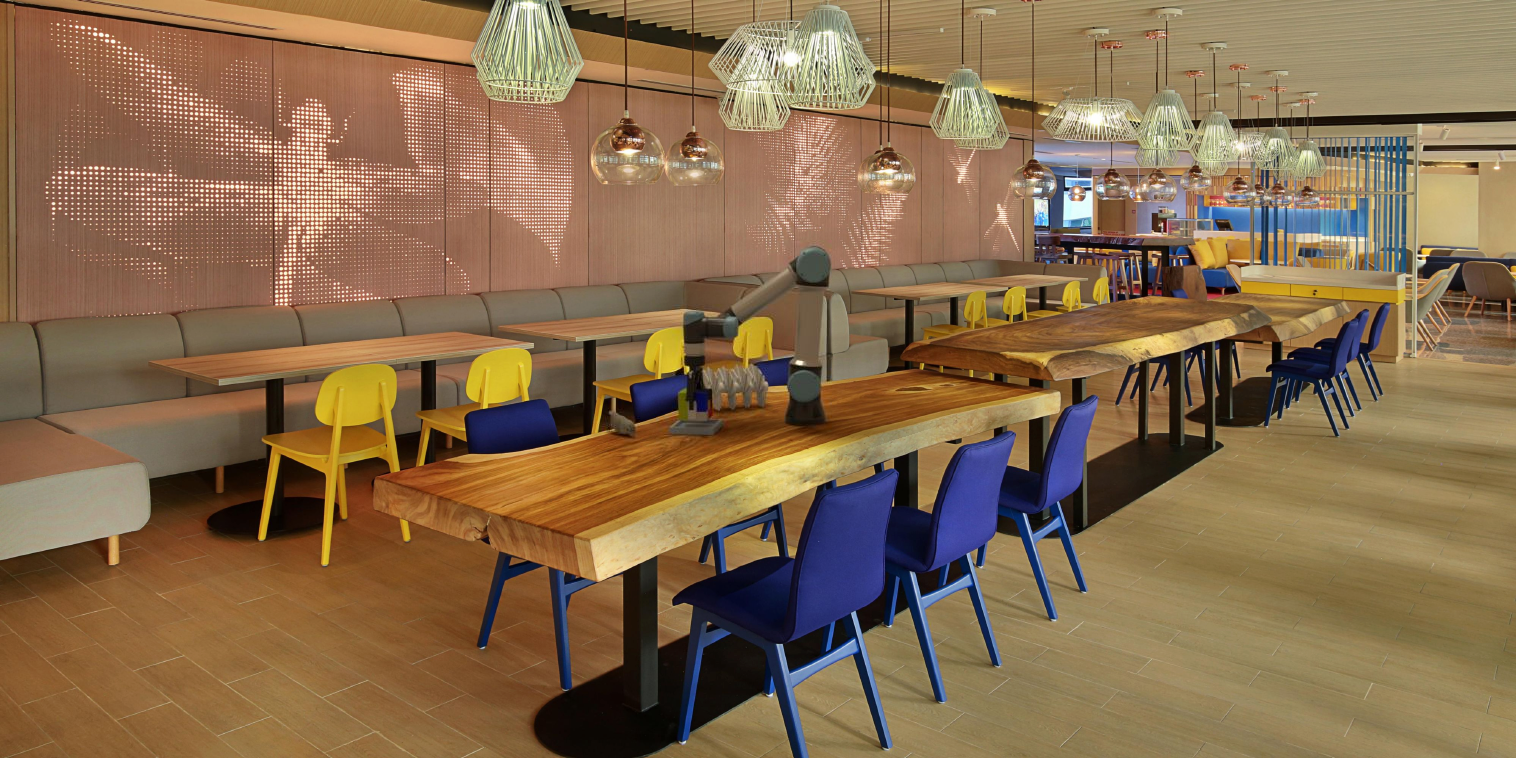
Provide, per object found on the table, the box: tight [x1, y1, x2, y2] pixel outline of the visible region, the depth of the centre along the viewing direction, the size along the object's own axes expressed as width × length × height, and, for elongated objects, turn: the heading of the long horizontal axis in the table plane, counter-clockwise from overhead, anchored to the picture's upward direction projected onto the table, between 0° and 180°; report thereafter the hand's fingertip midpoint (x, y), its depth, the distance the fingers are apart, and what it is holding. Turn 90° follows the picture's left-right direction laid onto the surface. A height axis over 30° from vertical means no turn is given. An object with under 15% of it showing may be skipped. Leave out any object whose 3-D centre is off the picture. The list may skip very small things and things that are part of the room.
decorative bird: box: [606, 410, 636, 438], centre depth 365 cm, size 5×16×8 cm, turn 37°
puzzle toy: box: [677, 387, 714, 421], centre depth 369 cm, size 10×10×10 cm
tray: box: [668, 418, 724, 436], centre depth 370 cm, size 16×16×2 cm
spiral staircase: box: [703, 363, 769, 412], centre depth 406 cm, size 18×18×25 cm
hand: (695, 415), depth 370 cm, fingers closed on puzzle toy, 10 cm apart
